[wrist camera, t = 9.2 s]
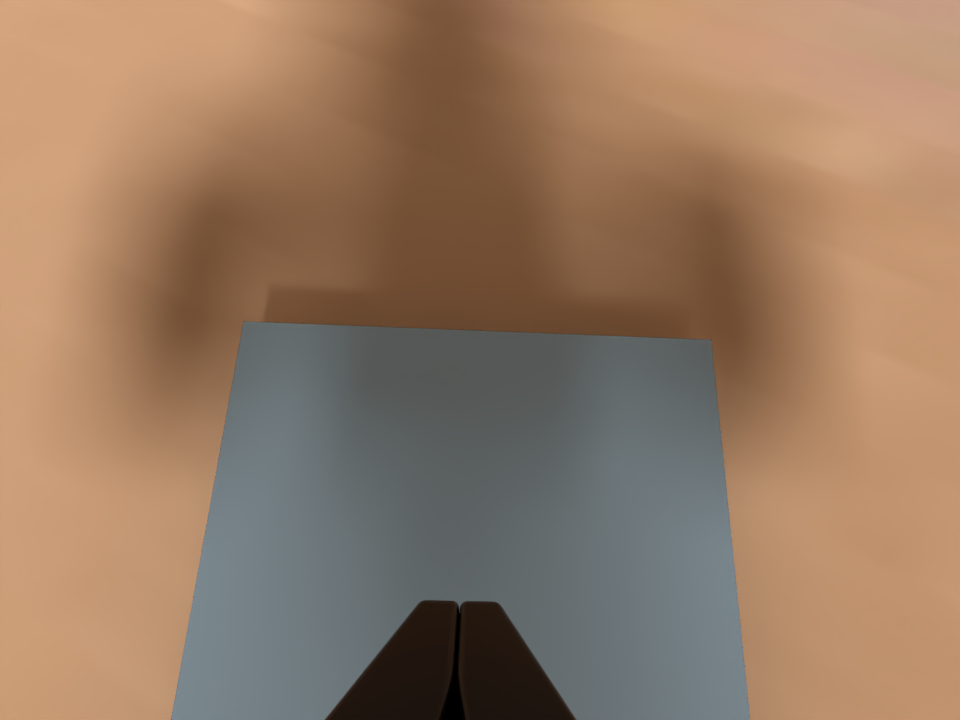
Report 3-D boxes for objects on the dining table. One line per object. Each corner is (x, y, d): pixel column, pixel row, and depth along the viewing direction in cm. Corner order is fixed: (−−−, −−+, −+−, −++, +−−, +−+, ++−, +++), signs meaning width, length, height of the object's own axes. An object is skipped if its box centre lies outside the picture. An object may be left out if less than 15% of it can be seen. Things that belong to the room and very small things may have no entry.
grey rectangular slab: (753, 757, 15) (711, 339, 19) (168, 736, 15) (243, 321, 19) (724, 750, 17) (690, 368, 21) (198, 731, 17) (262, 352, 21)
